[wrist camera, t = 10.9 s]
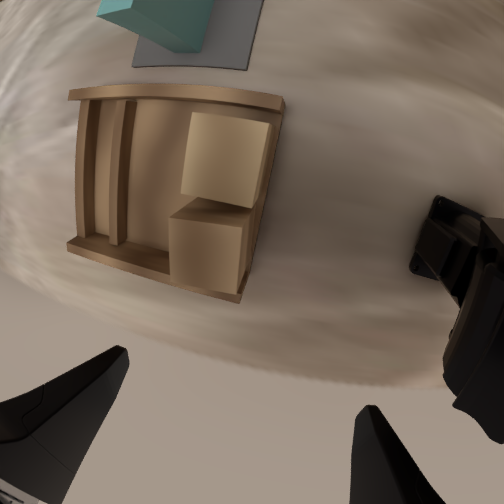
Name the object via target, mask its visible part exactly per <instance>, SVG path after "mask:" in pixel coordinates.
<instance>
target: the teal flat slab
mask: <svg viewBox="0 0 504 504" xmlns="http://www.w3.org/2000/svg"><path fill="white" fill-rule="evenodd" d="M213 3H214V0H102V1H101V4H100V7H99V9H98V12H97V15H96V16H97V17H100V18H102V19H105V20H107V21H110V22H112V23H115V24H117V25H119V26H121V27H124V28H126V29H128V30H130V31H132V32H135V33H137V34H139V35H141V36H143V37H145V38H147V39H149V40H151V41H153V42H155V43H157V44H159V45H160V46H162V47H164V48H166V49H168V50H170V51H172V52H173V53H200V51H201V47H202V43H203V39H204V35H205V31H206V28H207V24H208V20H209V17H210V13H211V10H212V7H213Z"/></svg>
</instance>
